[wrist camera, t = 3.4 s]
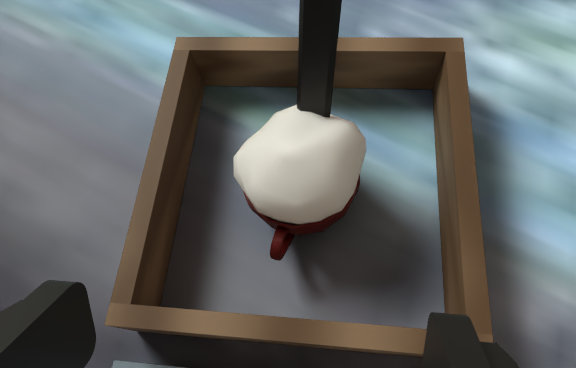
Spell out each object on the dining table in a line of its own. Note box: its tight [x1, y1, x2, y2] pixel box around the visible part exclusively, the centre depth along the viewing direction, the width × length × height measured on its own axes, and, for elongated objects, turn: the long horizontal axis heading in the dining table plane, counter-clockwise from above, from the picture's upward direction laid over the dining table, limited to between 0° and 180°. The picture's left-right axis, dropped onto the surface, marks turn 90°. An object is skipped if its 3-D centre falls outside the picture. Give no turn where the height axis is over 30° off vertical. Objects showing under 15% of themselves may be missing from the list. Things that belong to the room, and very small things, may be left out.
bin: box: [105, 37, 493, 358], centre depth 23 cm, size 17×17×4 cm
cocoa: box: [233, 0, 366, 260], centre depth 19 cm, size 10×6×12 cm, turn 140°
